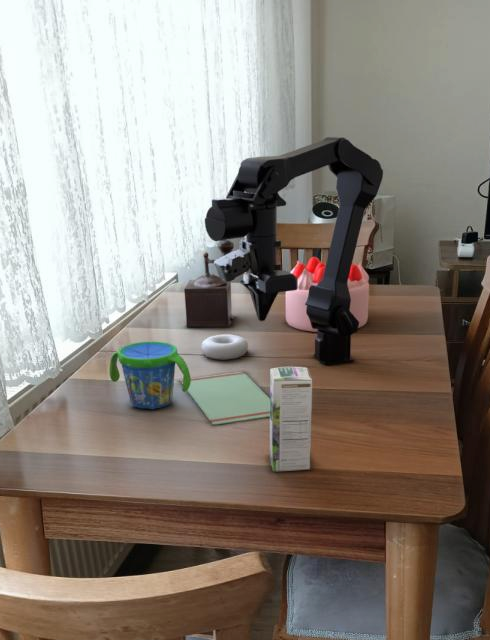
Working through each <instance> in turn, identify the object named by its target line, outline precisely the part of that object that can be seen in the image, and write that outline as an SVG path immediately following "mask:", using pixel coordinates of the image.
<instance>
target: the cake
mask: <svg viewBox="0 0 490 640" xmlns="http://www.w3.org/2000/svg"><path fill="white" fill-rule="evenodd" d="M325 267H326V263H325V262H323V261H320V259H319V258H318V257H317V256H312V257H310V259H309V260H308V262H307V264H304V263H302V262H301V263H300V260H297V261H296V265H295V266H294V267H293V269H292V270H290V271H289V272H290V273H292V274H294V275H295V276H296V277H297V279H298V289H297V290H294V291H285V322H286V323H287V324H288V325H289V326H290V327H292V328H294V329H297V330H300V331H307V332H313V333H317V330H318V329H313V328H312V326H311V322H310V319H309V317H308V315H307V314H306V309H307V305H305V303H306V301H307V299H308V294H309V288H310V286H311V285H315V286H317V284H318V283H319V282H320V281H321V280H322V278H323V275H324V271H325ZM369 281H370V276H369V274H368V273H367V271H366V270H365V269H364V267H363V264H362V262H361V261H360V262H359V263H358V265H357V264H356V263H353V262H352V265H351V269H350V273H349V278H348V282H347V285H348V289H349V293H350V297H351V303H350V312H351V313H352V314H353V315H354V317H355V318H356V319H357V320H358V321H359V326H358V329H359V328H362V327H363V326H365V325H367V322H368V317H369V300H370V299H369V298H370V283H369Z"/></svg>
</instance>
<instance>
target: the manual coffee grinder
mask: <svg viewBox="0 0 490 640" xmlns="http://www.w3.org/2000/svg"><path fill="white" fill-rule="evenodd" d="M234 247H235V244H234V242H233V241H232V240H231V239H228V240H222V241H218V243H217V248H218V250H219V251H220V257H219V258H221V257H223V256H225V255H227V254H229V253H231V252H233V251H234V250H233V249H234ZM202 257H203V258H202V259H203V263H204V274H203V275H201V276H199V277H197V278H195V279H189V281H188V282H187V284H186V286H185V287H184V291H183V292H184V302H185V303H184V304H185V318H186V328H191V329H192V328H195V329H196V328H199V329H201V328H202V329H203V328H204V329H205V328H208V329H211V328H229V327H230V326H231V324H232V322H233V321H234V319H235V316H234V315H233V311H232V309H233V308H232V305H233V304H232V285H231V282H232V281H229V282H226V281H225V280H224V279H220V277H219V275H216V274H214V273H212V274H211V273H210V269H209V267H210V266H209V264H214V261H215V260H216V259H210V258H209V253H208V252H203V254H202Z"/></svg>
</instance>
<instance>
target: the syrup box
mask: <svg viewBox="0 0 490 640" xmlns="http://www.w3.org/2000/svg"><path fill="white" fill-rule="evenodd" d="M269 375H270V376H269V378H270V379H269V380H270V381H269V382H270V383H269V384H270V385H269V389H270V390H269V398H270V417H269V459H270V465H271V468H272V471H273V472H274V473H275V472H276V473H277V472H291V471H304V470H305V471H306V470H311V447H312V446H311V443H312V442H311V440H312V412H313V411H312V408H313V406H312V405H313V379H312V376H311V372H310V370H309V368H307V367H303V366H279V367H273V368H270V371H269Z"/></svg>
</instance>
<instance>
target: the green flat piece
mask: <svg viewBox="0 0 490 640" xmlns="http://www.w3.org/2000/svg"><path fill="white" fill-rule="evenodd" d="M190 378H191V383H190V387H189V389H188V390H187V391H186V392H188V394H189V395H190V396H191V398H192V399H193V401H194V402H195V403H196V405H197V406H198V407H199V409H200V410H201V411H202V413H203V414H204V415H205V417H206V418H207V419H208V421H209V422H210V423H211V425H212V426H218V425H224V424H231V423H238V422H239V423H240V422H244V421H245V422H246V421H251V420H259V419H264V418H270V396H268V395H267V394H266V393H265V392H264V391H263V390H262V389H261V388H260V387H259V386H258V385H257V384H256V383H255V382H254V381H253V380H252V379H251V378H250V377H249V376H248V375H247V374H246V373H245V372H244V371H243V370H242V371H236V372H228V373H220V374H213V375H205V376H197V377H190ZM179 381H180V383H181V385H183V379H179Z"/></svg>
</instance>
